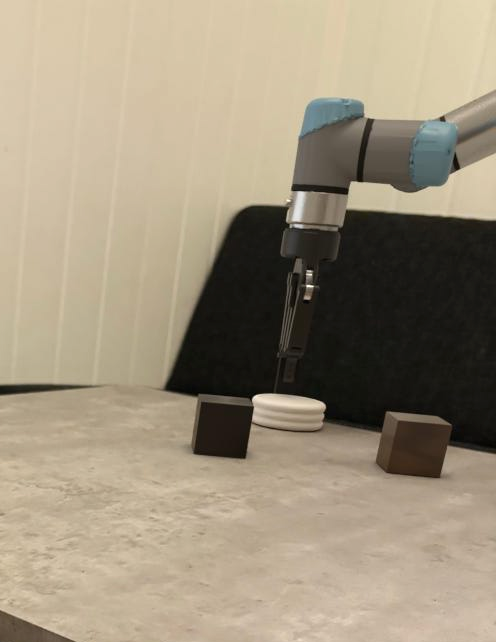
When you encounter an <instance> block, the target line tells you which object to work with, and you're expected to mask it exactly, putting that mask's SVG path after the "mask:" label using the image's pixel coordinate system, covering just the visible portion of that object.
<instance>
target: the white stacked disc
mask: <svg viewBox="0 0 496 642" xmlns="http://www.w3.org/2000/svg"><path fill="white" fill-rule="evenodd" d="M251 402H252V404H253V406H254V412H253V418H252V423H253V424H256V425H260V426H262V427H265V428H270V429H276V430H282V431H291V432H292V431H294V432H313V431H318V430H320V429H322V427H323V425H324V423H323V420H324V418H325V413H324V412H325V411H326V410H327V406H326V404H325V403H324V402H323V401H320V400H317V399H314V398H310V397H307V396H306V397H305V396H300V395H294V396H293V395H284V394H274V393H259V394H256V395H254V396H252V398H251Z"/></svg>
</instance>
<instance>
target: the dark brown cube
mask: <svg viewBox="0 0 496 642" xmlns="http://www.w3.org/2000/svg"><path fill="white" fill-rule="evenodd" d="M253 412H254V406H253V403H252V400H250V398H249V397H238V396H237V397H236V396H228V395H227V396H225V395H215V394H207V393H198V395H197V402H196V408H195V415H194V422H193V429H192V437H191V448H192V451H193V454H194V455H202V456H203V455H205V456H215V457H223V458H224V457H225V458H235V459H244V460H245V459H247V454H248V449H249V441H250V435H251V430H252V424H253V422H252V418H253Z"/></svg>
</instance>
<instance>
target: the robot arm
mask: <svg viewBox="0 0 496 642" xmlns="http://www.w3.org/2000/svg"><path fill="white" fill-rule="evenodd" d="M297 139H298V141H297V142H298V143H297V148H296V154H295V155H296V156H295V161H294V169H293V175H292V181H291V188H290V195H289V196H290V198H286V199H284V203H283V206H284V207H286V208H288V209H287V212H286V219H285V222H286V223H287V224H289V227H288V228H285V230H283V235H282V241H281V247H280V252H279V253H280V256H281V257H283V258H287V259H288V258H289V259H296V260H295V263H294V267H293V271H292V272H290V271H289V272H288V275H287V280H286V286H287V287H286V288H287V289H286V298H285V306H284V311H283V312H284V313H283V321H282V326H281V327H282V328H281V336H280V341H279V345H278V349H279V352H277V359H278V358H279V360H278V366H277V371H276V377H275V383H274V388H273V394H284V395H293V396H295V393H296V387H297V382H298V376H299V370H300V366H301V359H303V358H304V357H305V354H306V348H307V343H308V339H309V338H308V337H309V334H310V329H311V324H312V321H313V316H314V311H315V307H316V302H317V299H318V295H319V293H320V292H321V288H320V287H321V281H322V275H320V274H319V263H320V261H323V262H334V261H336V260H337V257H338V253H339V247H340V241H341V237H342V236H341V234H340V232H338V230H339V228H342V227H343V226H344V222H345V216H346V213H347V212H346V210H347V206H348V200H349V192H350V187H351V183H353V182H354V183H355V182H356V183H360V184H361V183H362V184H363V183H367V184H381V185H390V186H391V187H393V189H395V190H396V191H399V192H403V193H405V194H413V193H418V192H420V191H422V190H424V189H427V188H430V187H432V188H433V187H434V188H435V187H437V188H438V187H442V186H444V185H445V184H447V183H448V180H449V178H450V175H452V174H454V173H456V172H458V171H460V170H463V169H464V168H466V167H469V166H471V165H473V164H476V163H478V162H480V161H482V160H484V159H486V158H488V157H491V156H493V155H496V89H494V90H492V91H489V92H488V93H485V94H483V95H481V96H479V97H478V98H476V99H473V100H472V101H469V102H467V103H465V104H463V105H461V106H459V107H457V108H455V109H453V110H451V111H449V112H447V113H445V114H443V115H442V116H441V115H440V116H439V117H437V118H434V119H431V118H430V119H427V120H426V119H425V120H423V119H422V120H421V119H420V120H418V119H385V118H383V119H382V118H380V119H379V118H377V119H376V118H370V117H365V104H364V102H362V101H361V100H358V99H354V98H342V97H318V98H315V99H312V100H311V101H309V103H307V105H306V106H305V110H304V113H303V119H302V125H301V129H300V133H299V135H298V138H297Z"/></svg>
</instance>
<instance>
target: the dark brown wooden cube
mask: <svg viewBox="0 0 496 642" xmlns="http://www.w3.org/2000/svg"><path fill="white" fill-rule="evenodd" d="M452 430H453V424H451V423H449V422H448V421H446V420H445V419H443V418H441V417H439V416H438V415H429V414H419V413H418V414H416V413H407V412H396V411H386V412H385V415H384V421H383V425H382V430H381V435H380V440H379V443H378V449H377V453H376V458H375V463H376V464H377V465H378V466H379V467H381V468H382V469H383V470H384V471H385V472H386V473H387V474H395V475H397V474H399V475H407V476H416V477H417V476H418V477H426V478H427V477H428V478H437V479H438V478H441V475H442V471H443V468H444V467H443V466H444V462H445V458H446V454H447V450H448V446H449V443H450V437H451V434H452Z"/></svg>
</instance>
